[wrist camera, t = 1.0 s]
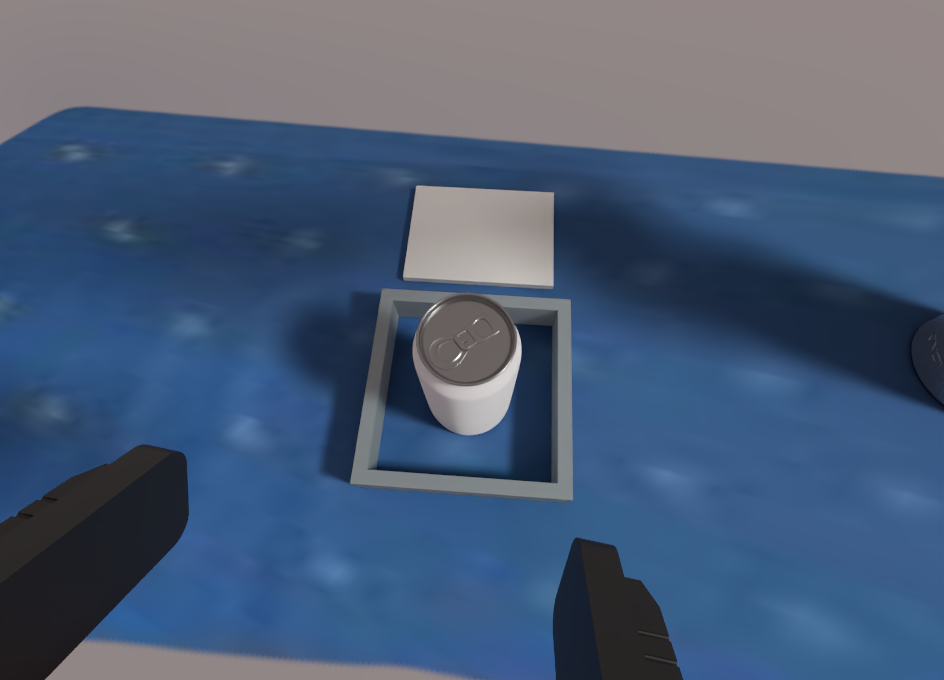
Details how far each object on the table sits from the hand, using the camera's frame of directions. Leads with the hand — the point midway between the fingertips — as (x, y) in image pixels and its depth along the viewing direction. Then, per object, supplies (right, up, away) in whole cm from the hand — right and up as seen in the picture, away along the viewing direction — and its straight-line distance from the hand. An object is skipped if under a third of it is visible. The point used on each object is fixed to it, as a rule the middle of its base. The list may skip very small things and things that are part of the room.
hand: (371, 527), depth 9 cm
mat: (+3, +13, +33) cm, 36 cm away
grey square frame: (+2, -1, +27) cm, 27 cm away
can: (+2, -1, +28) cm, 28 cm away
